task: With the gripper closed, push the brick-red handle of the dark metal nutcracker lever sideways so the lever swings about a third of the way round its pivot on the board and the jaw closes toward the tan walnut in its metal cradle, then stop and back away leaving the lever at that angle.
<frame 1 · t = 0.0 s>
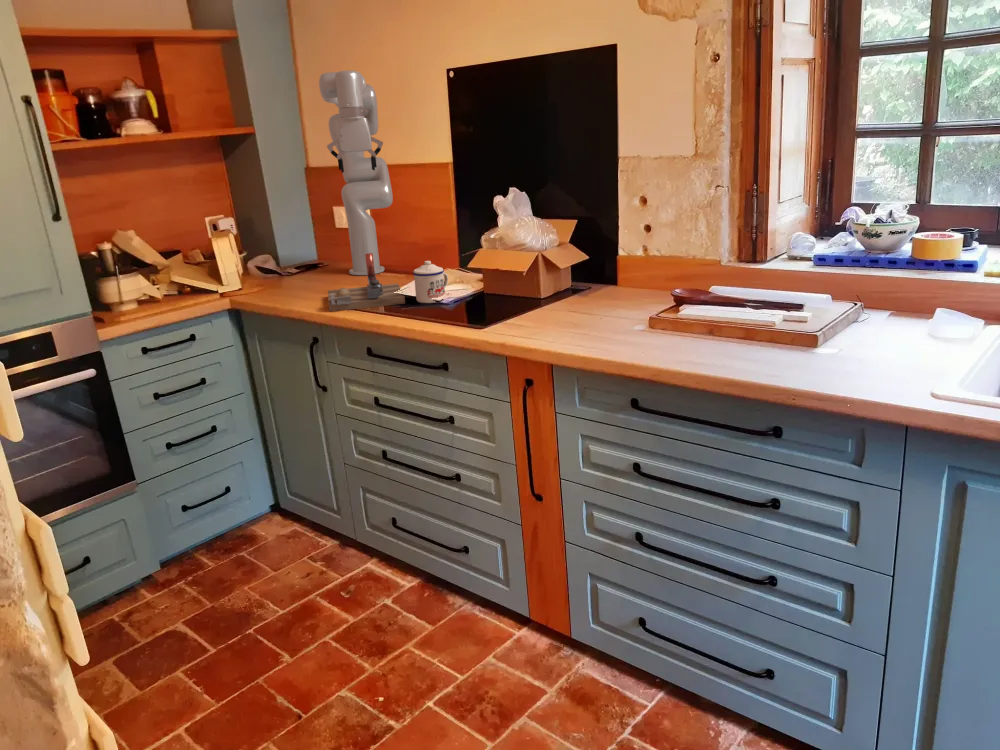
hand: (358, 171, 238), 37 cm above the worktop, tool pointing down, fingers open, 9 cm apart
lever: (372, 274, 230), point 7 cm above the worktop, hinge at 0.0°
nutcracker base: (365, 300, 230), on the worktop
teacup with lid: (434, 299, 227), on the worktop
walnut: (344, 301, 222), point 2 cm above the worktop, touching nutcracker base
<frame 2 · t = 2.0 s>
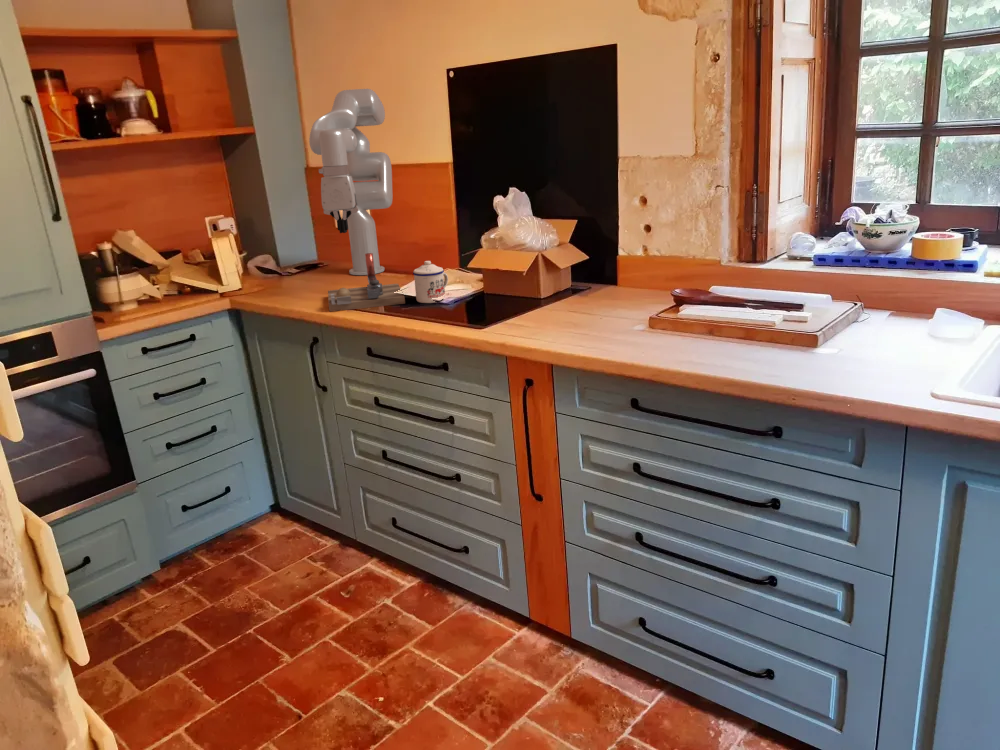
hand: (343, 232, 236), 19 cm above the worktop, tool pointing down, fingers closed
nothing on the worktop moved.
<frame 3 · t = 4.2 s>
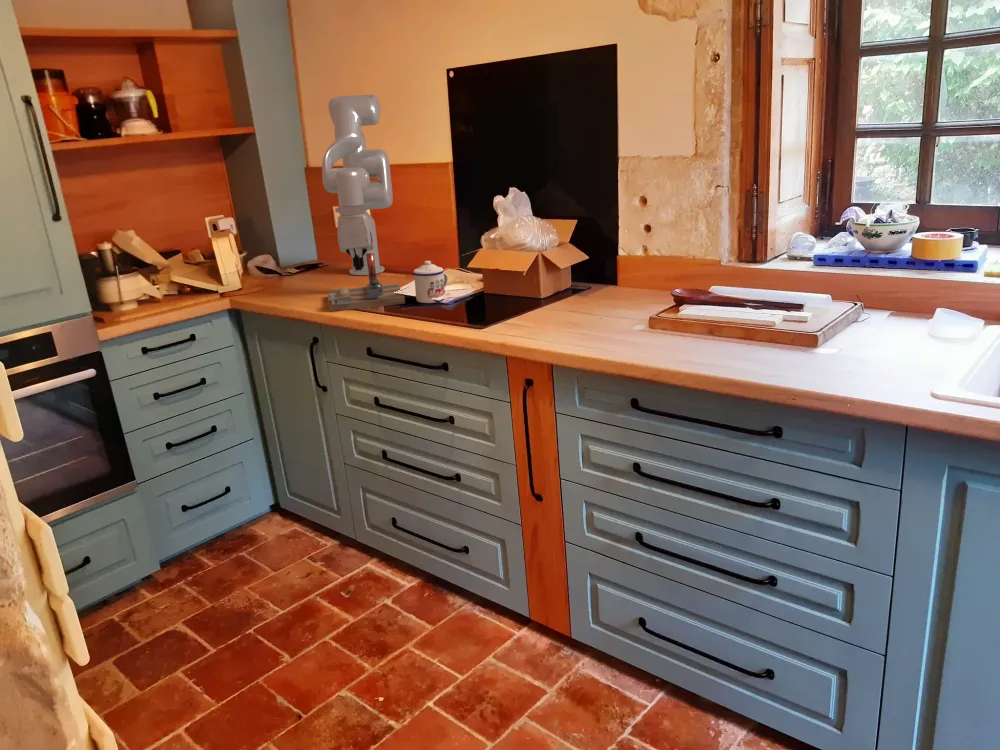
hand: (359, 269, 240), 7 cm above the worktop, tool pointing down, fingers closed
lever: (372, 274, 230), point 7 cm above the worktop, hinge at 1.4°, touching gripper
everything else where it was.
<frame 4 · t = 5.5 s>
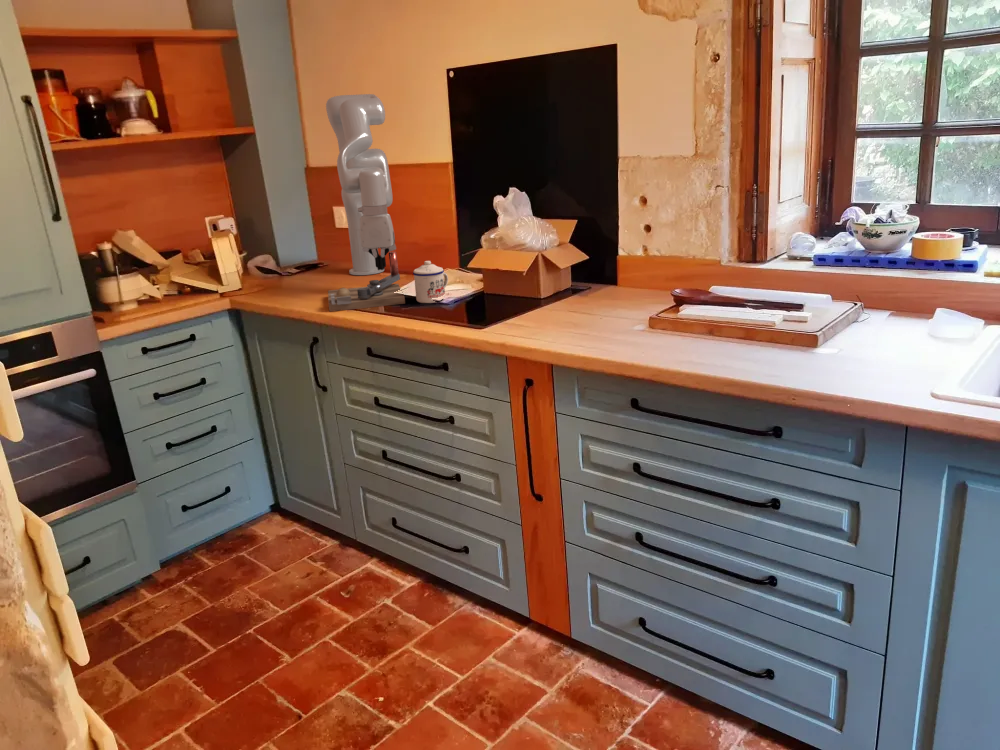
hand: (381, 269, 240), 7 cm above the worktop, tool pointing down, fingers closed
lever: (380, 274, 230), point 7 cm above the worktop, hinge at 29.0°, touching gripper
everything else where it was.
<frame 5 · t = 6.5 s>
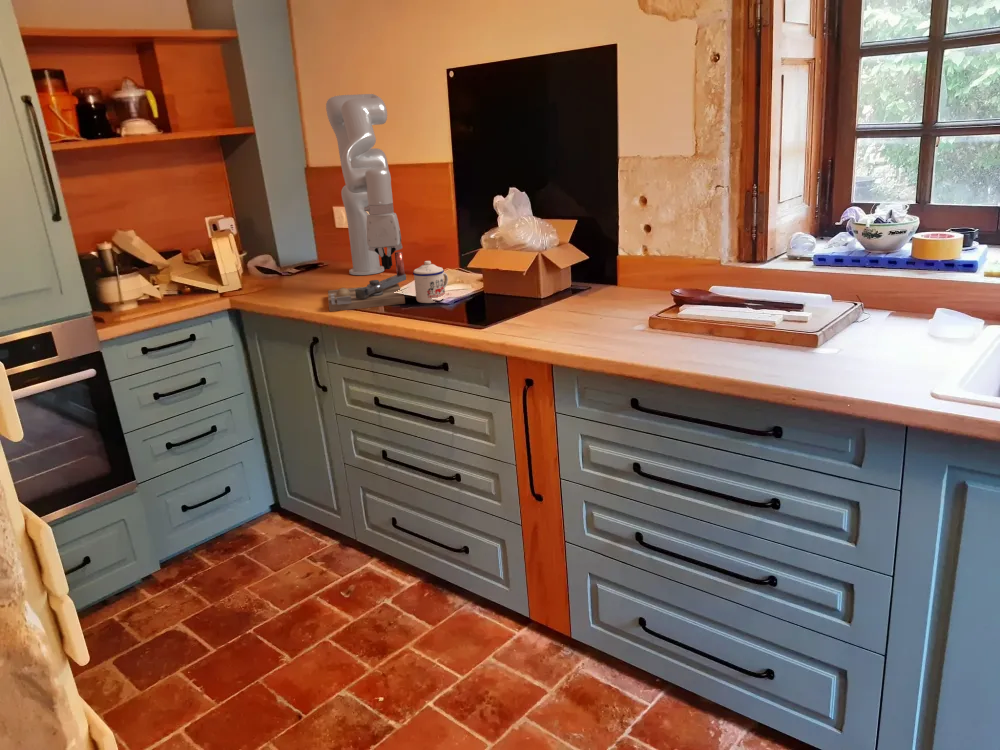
hand: (387, 268, 239), 7 cm above the worktop, tool pointing down, fingers closed
lever: (382, 274, 230), point 7 cm above the worktop, hinge at 37.2°, touching gripper
everything else where it was.
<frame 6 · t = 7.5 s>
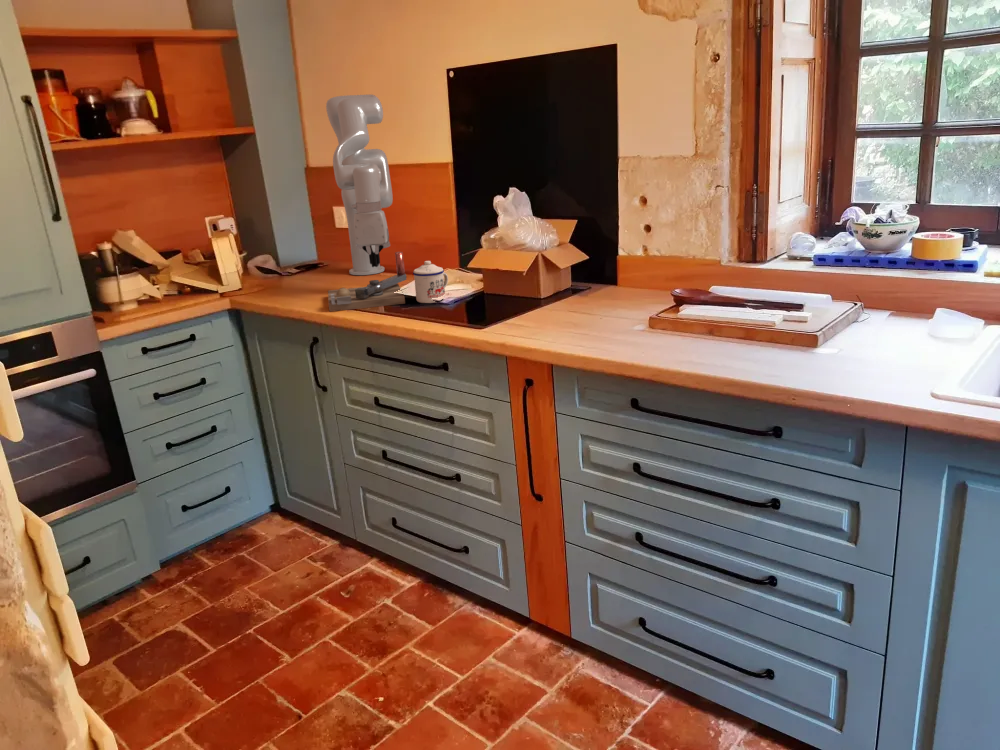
hand: (375, 266, 240), 8 cm above the worktop, tool pointing down, fingers closed
lever: (382, 274, 230), point 7 cm above the worktop, hinge at 37.6°
everything else where it was.
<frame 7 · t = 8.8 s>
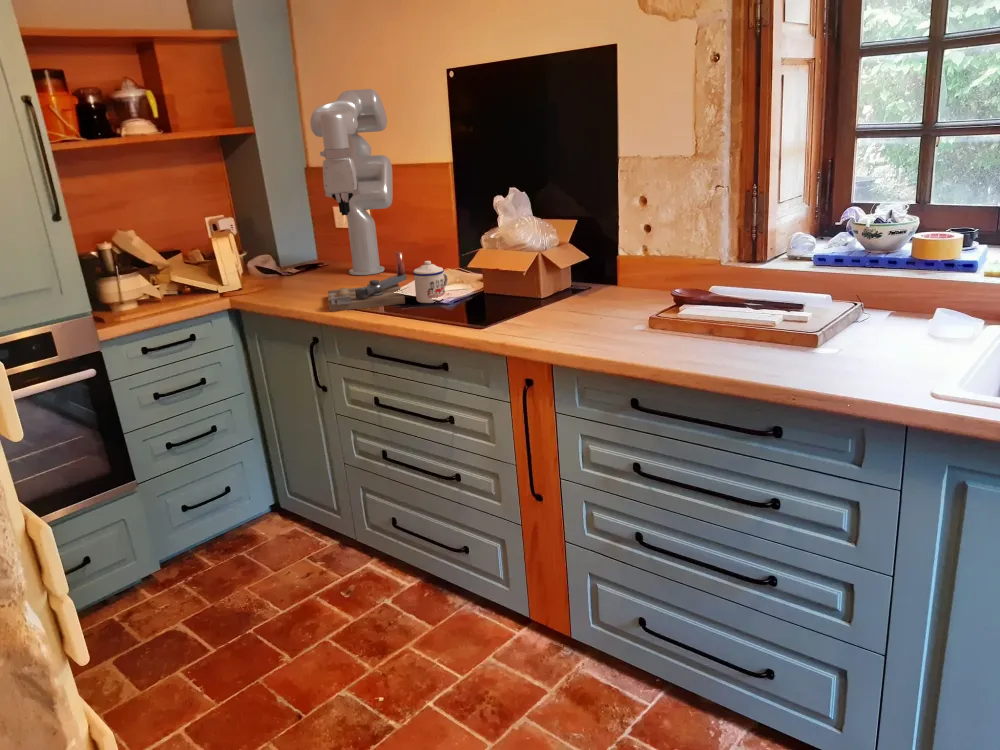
hand: (345, 214, 239), 24 cm above the worktop, tool pointing down, fingers closed
nothing on the worktop moved.
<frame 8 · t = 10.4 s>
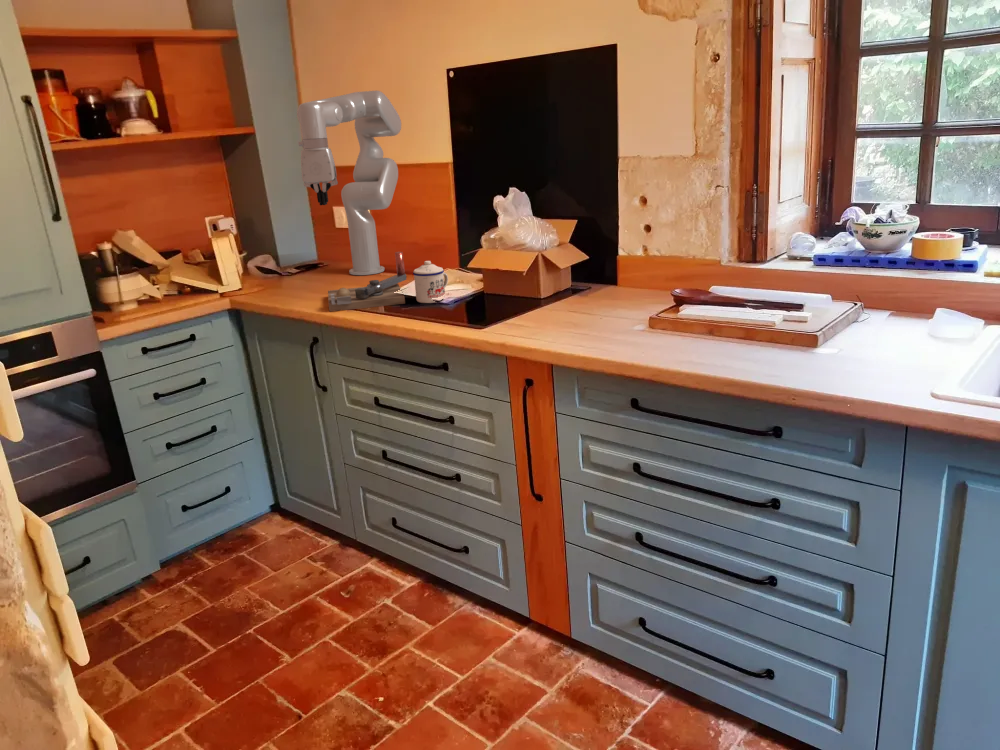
hand: (323, 204, 241), 27 cm above the worktop, tool pointing down, fingers closed
nothing on the worktop moved.
at the end: lever at +38° (first picture: +0°); walnut 0.0 cm from the target spot on the nutcracker base, point 2.0 cm above the nutcracker base's base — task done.
